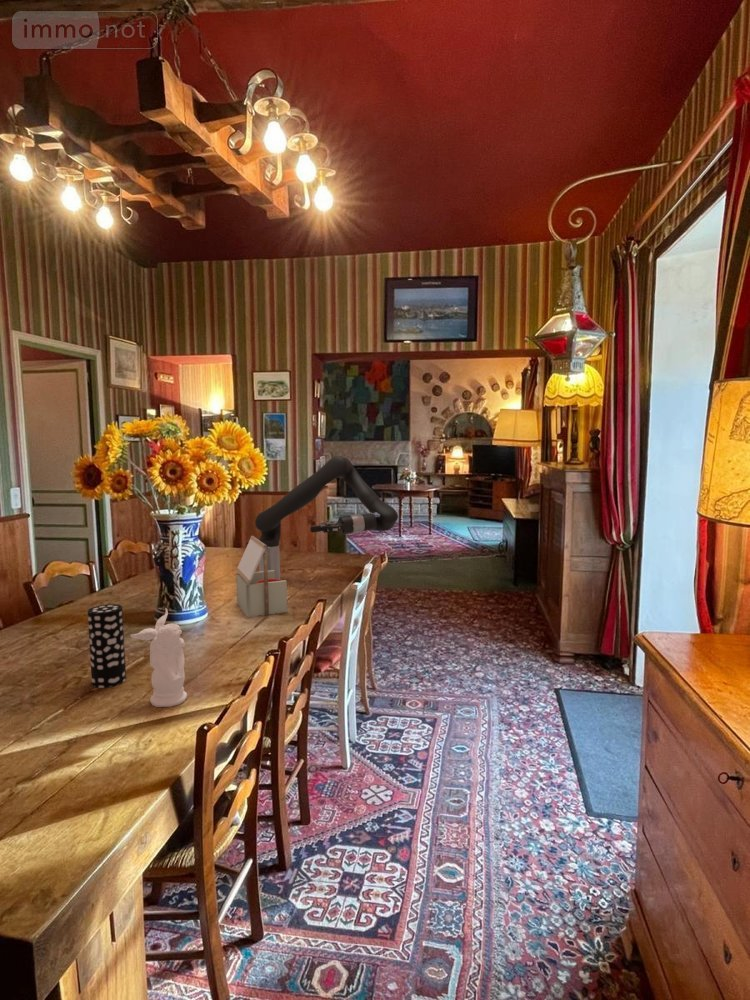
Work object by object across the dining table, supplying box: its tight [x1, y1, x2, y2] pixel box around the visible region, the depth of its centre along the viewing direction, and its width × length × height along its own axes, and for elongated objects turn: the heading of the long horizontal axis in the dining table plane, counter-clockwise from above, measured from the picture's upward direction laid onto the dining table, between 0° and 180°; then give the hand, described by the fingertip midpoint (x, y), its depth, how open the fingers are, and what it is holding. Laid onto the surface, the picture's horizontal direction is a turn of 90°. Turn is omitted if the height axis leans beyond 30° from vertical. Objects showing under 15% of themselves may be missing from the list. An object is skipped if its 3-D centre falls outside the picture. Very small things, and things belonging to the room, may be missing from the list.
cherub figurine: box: [130, 607, 188, 708], centre depth 137 cm, size 12×12×22 cm
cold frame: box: [235, 570, 288, 618], centre depth 216 cm, size 20×15×12 cm
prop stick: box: [263, 553, 270, 617], centre depth 205 cm, size 1×1×24 cm
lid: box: [235, 535, 267, 584], centre depth 213 cm, size 23×15×1 cm
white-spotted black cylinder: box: [87, 603, 127, 689], centre depth 149 cm, size 8×8×20 cm
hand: (310, 529), depth 223 cm, fingers closed
